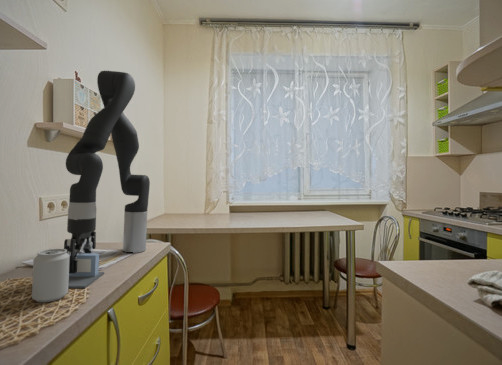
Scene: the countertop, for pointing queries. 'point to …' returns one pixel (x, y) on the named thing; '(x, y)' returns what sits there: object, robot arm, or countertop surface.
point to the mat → (82, 281)
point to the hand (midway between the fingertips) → (80, 268)
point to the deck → (87, 265)
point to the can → (50, 275)
